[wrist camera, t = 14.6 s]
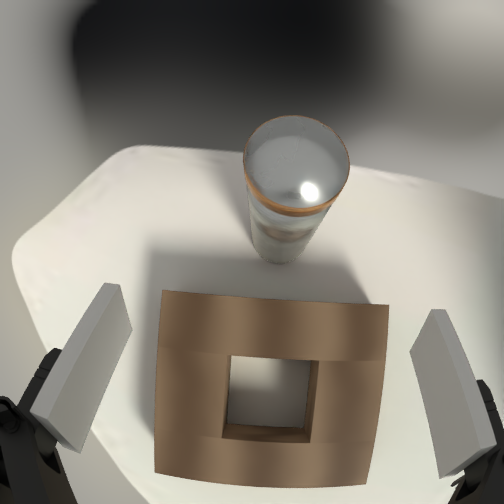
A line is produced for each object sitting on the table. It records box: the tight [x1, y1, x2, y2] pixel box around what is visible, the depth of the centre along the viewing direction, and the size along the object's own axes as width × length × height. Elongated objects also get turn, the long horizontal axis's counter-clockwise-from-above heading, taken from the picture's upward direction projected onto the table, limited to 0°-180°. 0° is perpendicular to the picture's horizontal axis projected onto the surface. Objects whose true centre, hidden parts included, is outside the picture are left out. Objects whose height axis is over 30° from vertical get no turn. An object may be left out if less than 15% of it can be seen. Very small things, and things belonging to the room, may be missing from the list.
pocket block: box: [154, 290, 389, 488], centre depth 25 cm, size 18×16×4 cm
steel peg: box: [243, 115, 350, 264], centre depth 22 cm, size 5×5×15 cm
